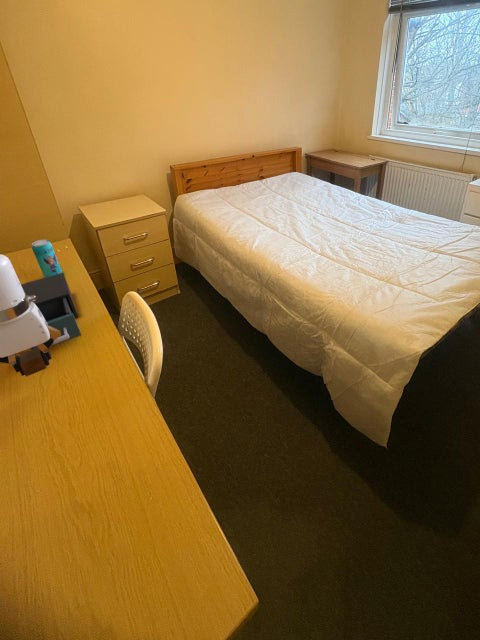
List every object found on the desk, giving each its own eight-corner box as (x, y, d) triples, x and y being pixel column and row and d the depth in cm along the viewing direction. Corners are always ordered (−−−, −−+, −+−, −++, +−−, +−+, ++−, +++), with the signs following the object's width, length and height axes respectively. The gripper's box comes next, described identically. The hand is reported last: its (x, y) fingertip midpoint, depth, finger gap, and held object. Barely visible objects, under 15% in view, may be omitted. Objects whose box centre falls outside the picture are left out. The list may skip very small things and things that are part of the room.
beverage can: (52, 282, 120) (37, 247, 113) (41, 279, 121) (26, 244, 114) (66, 274, 124) (53, 240, 118) (56, 271, 126) (42, 237, 119)
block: (26, 376, 76) (19, 364, 74) (25, 365, 79) (19, 354, 77) (46, 368, 78) (41, 356, 76) (45, 358, 81) (39, 346, 79)
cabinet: (78, 317, 103) (69, 293, 99) (29, 334, 96) (17, 309, 92) (72, 295, 113) (63, 272, 109) (27, 309, 106) (16, 285, 101)
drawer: (84, 345, 91) (75, 324, 88) (34, 364, 85) (23, 343, 81) (74, 311, 104) (66, 292, 100) (30, 326, 98) (20, 306, 94)
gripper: (51, 286, 77) (73, 342, 86) (-45, 314, 68) (-10, 374, 76) (55, 302, 72) (78, 359, 81) (-49, 334, 62) (-11, 396, 71)
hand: (35, 366), depth 78 cm, fingers closed on block, 4 cm apart
